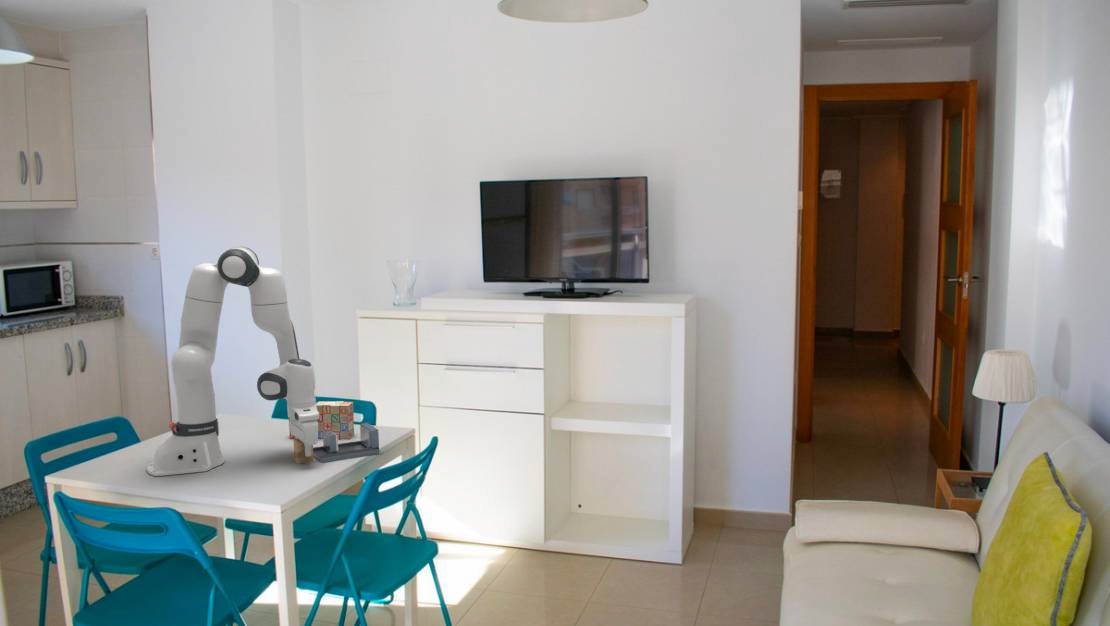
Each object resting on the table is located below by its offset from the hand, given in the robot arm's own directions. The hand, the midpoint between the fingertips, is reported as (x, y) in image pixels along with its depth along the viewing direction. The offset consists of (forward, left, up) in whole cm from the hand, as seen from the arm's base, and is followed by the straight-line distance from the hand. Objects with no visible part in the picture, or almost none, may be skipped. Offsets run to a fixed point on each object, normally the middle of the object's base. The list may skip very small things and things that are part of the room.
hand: (304, 452), depth 290 cm
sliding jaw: (+9, 0, -1) cm, 9 cm away
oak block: (0, 0, -3) cm, 3 cm away
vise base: (+13, 0, -3) cm, 14 cm away
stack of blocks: (+13, +26, -3) cm, 29 cm away
